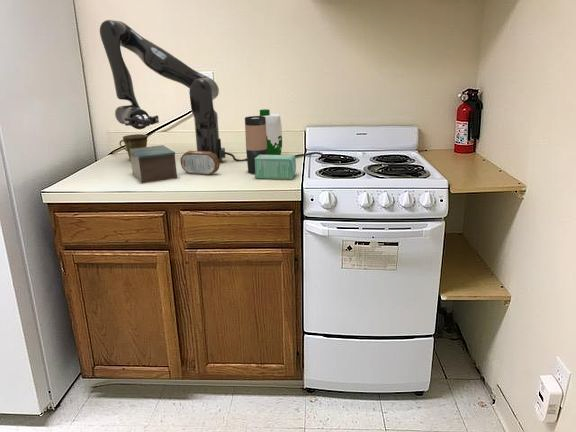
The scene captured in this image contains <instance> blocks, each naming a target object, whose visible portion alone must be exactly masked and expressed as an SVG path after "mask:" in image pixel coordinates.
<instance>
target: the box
mask: <svg viewBox="0 0 576 432" xmlns="http://www.w3.org/2000/svg"><path fill="white" fill-rule="evenodd" d="M296 171H297V161H296V157H295V156H294V155H292V154H291V155H290V154H281V155H258V156H257V157H256V158H255V174H254V178H255V179H267V180H268V179H270V180H271V179H273V180H292V179H293V178H294V176H295V175H296Z"/></svg>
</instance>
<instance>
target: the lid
mask: <svg viewBox="0 0 576 432" xmlns="http://www.w3.org/2000/svg"><path fill="white" fill-rule="evenodd" d="M129 150H130V152H132V153H133V154H134V155H135V156H136V157H138V158H139V159H141V158H150V157H158V156H166V155H175V156H176V152H175V151H174V150H172V149H170V148H168V147H167V146H165V145H164V144H163V145H162V144H161V145H154V146H152V145H151V146H146V147H143V148H134V149H129Z"/></svg>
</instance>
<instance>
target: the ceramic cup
mask: <svg viewBox="0 0 576 432" xmlns="http://www.w3.org/2000/svg"><path fill="white" fill-rule="evenodd" d="M122 142H123V143H124V146H125V147H124V146H123V145H122ZM118 145H119V147H121V148H122V149H124V151H126V152H127V155H128V158H129V161H130V162H131V157H130V150H129V149H134V148H143V147H148V135H147V134H146V133H145V134H144V133H143V134H142V133H141V134H140V133H138V134H127V135H124V136H122V139H121V140H120V141H119V144H118Z"/></svg>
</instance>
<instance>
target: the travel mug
mask: <svg viewBox="0 0 576 432" xmlns="http://www.w3.org/2000/svg"><path fill="white" fill-rule="evenodd" d="M244 131H245V132H244V133H245V152H246V159H247V161H246V164H247V172H248V173H249V174H252V175H255V158H256V157H257V156H258V155H267V138H266V118H265V117H264V116H259V115H252V116H250V115H249V116H245V117H244Z"/></svg>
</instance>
